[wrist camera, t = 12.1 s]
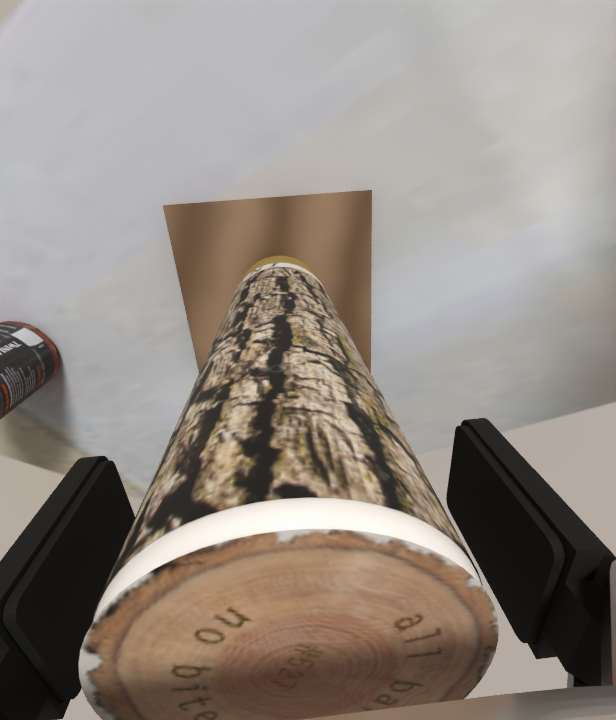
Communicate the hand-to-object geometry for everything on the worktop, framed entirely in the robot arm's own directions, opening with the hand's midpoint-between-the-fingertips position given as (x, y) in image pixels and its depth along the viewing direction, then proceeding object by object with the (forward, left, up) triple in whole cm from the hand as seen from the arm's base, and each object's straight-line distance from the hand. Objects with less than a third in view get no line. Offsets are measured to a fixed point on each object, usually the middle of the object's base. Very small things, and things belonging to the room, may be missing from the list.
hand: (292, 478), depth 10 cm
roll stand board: (0, 0, -22) cm, 22 cm away
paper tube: (0, 0, -21) cm, 21 cm away
